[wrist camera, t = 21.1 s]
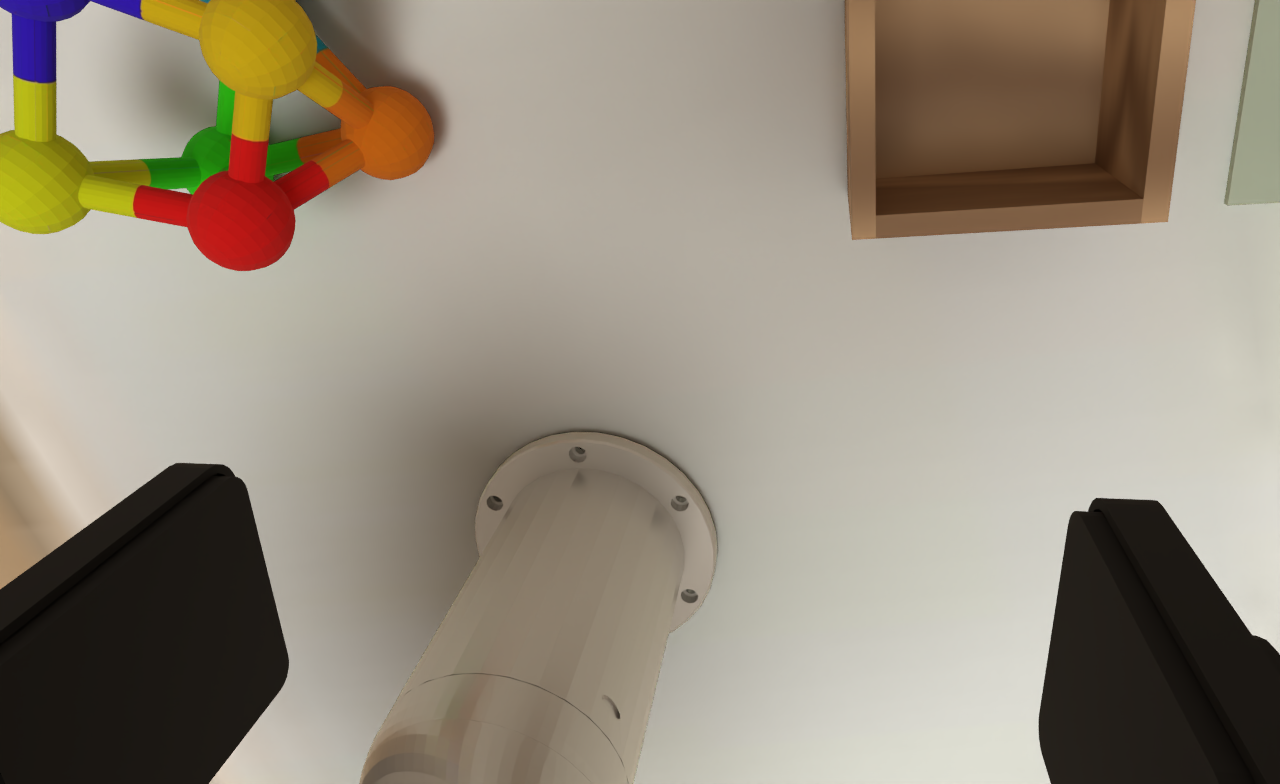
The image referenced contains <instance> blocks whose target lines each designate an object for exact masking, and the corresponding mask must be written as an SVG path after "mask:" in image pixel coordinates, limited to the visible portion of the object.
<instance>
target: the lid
mask: <svg viewBox="0 0 1280 784" xmlns="http://www.w3.org/2000/svg"><path fill="white" fill-rule="evenodd" d="M1279 202H1280V0H1255V4H1254V11H1253V17H1252V24H1251V30H1250V37H1249V43H1248V50H1247V57H1246V63H1245V70H1244V76H1243V83H1242V89H1241V96H1240V103H1239V109H1238V116H1237V122H1236V129H1235V135H1234V142H1233V149H1232V155H1231V162H1230V168H1229V175H1228V181H1227V188H1226V194H1225V201H1224V204H1226V205H1228V206H1229V205H1246V204H1263V203H1279Z"/></svg>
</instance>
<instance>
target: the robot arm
mask: <svg viewBox="0 0 1280 784" xmlns="http://www.w3.org/2000/svg"><path fill="white" fill-rule="evenodd" d="M578 447H581V448H582V449H584V450H581V449H579V448H578ZM679 496H683V497H684V498H682V497H679ZM475 539H476V543H477V548H478V553H479V557H480V558H479V560H478V562H477V563H476V565H475V567H474V568H473V570H472V572H471V573H470V575H469V577H468V579H467V580H466V582H465V584H464V585H463V587H462V589H461V591H460V592H459V594H458V596H457V597H456V599H455V601H454V603H453V604H452V606H451V608H450V609H449V611H448V613H447V615H446V616H445V618H444V620H443V621H442V623H441V625H440V626H439V628H438V630H437V632H436V633H435V635H434V637H433V638H432V640H431V642H430V644H429V645H428V647H427V649H426V650H425V652H424V654H423V656H422V657H421V659H420V661H419V662H418V664H417V666H416V667H415V669H414V671H413V673H412V674H411V676H410V678H409V679H408V681H407V683H406V685H405V686H404V688H403V690H402V691H401V693H400V695H399V697H398V698H397V700H396V702H395V704H394V706H393V707H392V709H391V711H390V712H389V714H388V716H387V718H386V719H385V721H384V723H383V725H382V726H381V728H380V730H379V732H378V733H377V735H376V737H375V739H374V741H373V743H372V745H371V747H370V750H369V752H368V755H367V758H366V761H365V764H364V767H363V770H362V774H361V778H360V783H359V784H633V783H634V779H635V775H636V771H637V766H638V762H639V758H640V754H641V749H642V745H643V741H644V736H645V732H646V728H647V724H648V719H649V715H650V711H651V707H652V702H653V698H654V694H655V690H656V685H657V681H658V677H659V673H660V668H661V664H662V660H663V655H664V651H665V647H666V643H667V638H668V634H669V633H671V632H673V631H674V630H676V629H677V628H678V627H680V626H681V625H682V624H684V623H685V622H686V621H688V620H689V619H690V618H691V617H692V615H693V614H694V613H695V612H696V611H697V610H698V609H699V607H700V606H701V605H702V603H703V601H704V599H705V597H706V596H707V594H708V592H709V590H710V587H711V584H712V580H713V576H714V572H715V567H716V559H717V539H716V530H715V527H714V524H713V521H712V518H711V514H710V511H709V509H708V508H707V506H706V504H705V502H704V500H703V498H702V497H701V495H700V493H699V491H698V490H697V489H696V488H695V487H694V485H693V484H692V483H691V482H690V481H689V479H688V478H687V477H686V476H685V475H684V474H683V473H682V472H681V471H680V470H679V469H678V468H676V467H675V466H674V465H673V464H672V463H670V462H669V461H668V460H667V459H666V458H664V457H662V456H661V455H659V454H657V453H655V452H654V451H652V450H650V449H649V448H647V447H645V446H643V445H640V444H638V443H635V442H633V441H630V440H627V439H625V438H622V437H618V436H613V435H608V434H603V433H598V432H569V433H563V434H556V435H551V436H548V437H545V438H542V439H539V440H537V441H534V442H531V443H529V444H528V445H526V446H524V447H523V448H521V449H519V450H518V451H516V452H514V453H513V454H512V455H511V456H510V457H509V458H508V459H507V460H506V461H505V462H504V463H503V464H502V465H500V466H499V468H498V469H497V471H496V472H495V474H494V475H493V476H492V478H491V479H490V481H489V482H488V484H487V486H486V487H485V489H484V491H483V493H482V495H481V497H480V500H479V504H478V509H477V513H476V517H475ZM288 668H289V659H288V653H287V649H286V645H285V641H284V637H283V633H282V629H281V625H280V620H279V616H278V612H277V608H276V604H275V600H274V596H273V592H272V588H271V584H270V580H269V576H268V572H267V568H266V564H265V560H264V556H263V551H262V547H261V543H260V539H259V535H258V531H257V527H256V523H255V519H254V515H253V511H252V507H251V503H250V499H249V495H248V491H247V488H246V485H245V483H244V482H243V481H242V480H241V479H240V478H238V477H235V475H234V473H233V472H232V471H231V470H230V468H228V467H227V466H225V465H220V464H194V463H176V464H174V465H172V466H169V467H168V468H167V469H165V470H164V471H162V472H161V473H160V474H158V475H157V476H156V477H154V478H153V479H151V480H150V481H149V482H147V483H146V484H145V485H143V486H142V487H140V488H139V489H138V490H136V491H135V492H134V493H132V494H131V495H129V496H128V497H127V498H125V499H124V500H123V501H121V502H120V503H118V504H117V505H116V506H114V507H113V508H112V509H110V510H109V511H108V512H106V513H105V514H103V515H102V516H101V517H99V518H98V519H97V520H95V521H94V522H92V523H91V524H90V525H88V526H87V527H86V528H84V529H83V530H81V531H80V532H79V533H77V534H76V535H75V536H73V537H72V538H70V539H69V540H68V541H66V542H65V543H64V544H62V545H61V546H59V547H58V548H57V549H55V550H54V551H53V552H51V553H50V554H48V555H47V556H46V557H44V558H43V559H42V560H40V561H39V562H37V563H36V564H35V565H33V566H32V567H31V568H29V569H28V570H26V571H25V572H24V573H22V574H21V575H20V576H18V577H17V578H16V579H14V580H13V581H11V582H10V583H9V584H7V585H6V586H5V587H3V588H2V589H0V784H209V782H210V781H211V780H212V778H213V777H214V776H215V775H216V773H217V772H218V771H219V769H220V768H221V767H222V765H223V764H224V763H225V762H226V760H227V759H228V758H229V756H230V755H231V754H232V752H233V751H234V750H235V749H236V747H237V746H238V745H239V743H240V742H241V741H242V739H243V738H244V737H245V736H246V734H247V733H248V732H249V730H250V729H251V728H252V726H253V725H254V724H255V722H256V721H257V720H258V719H259V717H260V716H261V715H262V713H263V712H264V711H265V709H266V708H267V707H268V706H269V704H270V703H271V702H272V700H273V699H274V698H275V696H276V695H277V694H278V693H279V691H280V690H281V688H282V687H283V685H284V683H285V680H286V678H287V673H288ZM1039 740H1040V747H1041V752H1042V756H1043V759H1044V762H1045V765H1046V769H1047V772H1048V775H1049V778H1050V782H1051V784H1280V655H1279V653H1278V652H1277V651H1276V650H1275V648H1274V647H1273V646H1272V645H1271V644H1270V643H1269V642H1268V641H1267V640H1265V639H1263V638H1260V637H1258V636H1253V635H1252V634H1251V633H1250V632H1249V630H1248V629H1247V627H1246V626H1245V624H1244V623H1243V621H1242V620H1241V619H1240V617H1239V616H1238V614H1237V613H1236V611H1235V610H1234V608H1233V607H1232V606H1231V604H1230V603H1229V601H1228V600H1227V598H1226V597H1225V595H1224V594H1223V593H1222V591H1221V590H1220V588H1219V587H1218V585H1217V584H1216V582H1215V581H1214V580H1213V578H1212V577H1211V575H1210V574H1209V572H1208V571H1207V569H1206V568H1205V567H1204V565H1203V564H1202V562H1201V561H1200V559H1199V558H1198V556H1197V555H1196V554H1195V552H1194V551H1193V549H1192V548H1191V546H1190V545H1189V543H1188V542H1187V541H1186V539H1185V538H1184V536H1183V535H1182V533H1181V532H1180V531H1179V529H1178V528H1177V526H1176V525H1175V523H1174V522H1173V520H1172V519H1171V518H1170V516H1169V515H1168V513H1167V512H1166V510H1165V509H1164V507H1163V506H1162V505H1161V504H1160V503H1159V502H1158V501H1154V500H1133V499H1107V498H1096V499H1094V500H1093V501H1092V503H1091V505H1090V507H1089V510H1088V512H1082V511H1074V512H1073V513H1072V515H1071V517H1070V519H1069V524H1068V530H1067V536H1066V543H1065V549H1064V556H1063V562H1062V569H1061V575H1060V582H1059V588H1058V595H1057V602H1056V608H1055V615H1054V621H1053V628H1052V634H1051V641H1050V647H1049V654H1048V661H1047V667H1046V674H1045V680H1044V687H1043V693H1042V700H1041V706H1040V713H1039Z"/></svg>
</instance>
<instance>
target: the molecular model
mask: <svg viewBox="0 0 1280 784" xmlns="http://www.w3.org/2000/svg"><path fill="white" fill-rule="evenodd" d="M90 1H92V2H95V3H98V4H100V5H103V6H106V7H109V8H112V9H114V10H117V11H120V12H123V13H125V14H128V15H131V16H134V17H137V18H139V19H142V20H145V21H148V22H150V23H153V24H156V25H159V26H162V27H164V28H167V29H170V30H173V31H176V32H178V33H181V34H184V35H187V36H189V37H192V38H195V39H198V40H199V41H200V46H201V50H202V54H203V56H204V58H205V61H206V63H207V64H208V66H209V68H210V69H211V71H212V72H213V73H214V75H215V76H216V77H217V78H218V79H219V80H220V81H219V94H218V107H217V119H216V126H214V127H209V128H206V129H203V130H201V131H199V132H198V133H197V134H195V135H194V136H193V137H192V138H191V139H190V141H189V142H188V143H187V145H186V147H185V149H184V152H183V154H182V157H180V158H159V159H138V160H116V161H95V162H89V161H88V160H87V159H86V157H85V156H84V155H83V154H82V152H81V151H80V150H79V149H78V148H77V147H76V146H75V145H73V144H72V143H70V142H69V141H67V140H66V139H64V138H63V137H61V136H59V135H56V21H61V20H65V19H68V18H71V17H72V16H74V15H76V14H77V13H79V12H81V10H82V9H83V8H84V7H85V6H86V5H87V4H88V3H89V2H90ZM0 7H1V8H3V9H4V10H6V11H8V12H10V13H12V42H13V84H14V126H15V130H11V131H8V132H5V133H2V134H0V222H2V223H4V224H5V225H7V226H10V227H12V228H14V229H17V230H19V231H23V232H28V233H32V234H49V233H54V232H59V231H61V230H63V229H66V228H68V227H70V226H73V225H75V224H76V223H77V222H79V221H80V220H81V219H83V218H84V217H85V216H86V214H87V213H88V212H89V211H90V209H92V210H98V211H103V212H108V213H114V214H119V215H125V216H130V217H135V218H141V219H146V220H151V221H157V222H162V223H167V224H173V225H178V226H183V227H188V230H189V233H190V235H191V237H192V240H193V242H194V244H195V245H196V246H197V248H198V249H199V250H200V251H201V252H202V254H203V255H205V256H206V257H207V258H208V259H209V260H211V261H213V262H214V263H216V264H218V265H220V266H222V267H225V268H228V269H232V270H236V271H251V270H256V269H260V268H264V267H267V266H269V265H271V264H273V263H275V262H276V261H277V260H279V259H280V258H281V257H282V256H283V255H284V254H285V252H286V251H287V250H288V248H289V247H290V244H291V241H292V239H293V235H294V230H295V215H294V209H296V208H297V207H299V206H301V205H302V204H304V203H306V202H307V201H309V200H310V199H312V198H314V197H315V196H317V195H319V194H320V193H322V192H324V191H325V190H327V189H328V188H330V187H332V186H333V185H335V184H337V183H338V182H340V181H341V180H343V179H345V178H346V177H348V176H350V175H351V174H353V173H355V172H356V171H358V170H359V169H361V170H362V171H363V172H365V173H367V174H369V175H371V176H373V177H376V178H380V179H386V180H394V179H399V178H403V177H406V176H409V175H411V174H413V173H415V172H417V171H418V170H419V169H420V168H421V167H422V166H423V165H424V163H425V162H426V160H427V159H428V157H429V154H430V152H431V150H432V147H433V144H434V131H433V126H432V121H431V118H430V116H429V114H428V112H427V110H426V109H425V107H424V106H423V105H422V104H421V103H420V102H419V100H418V99H417V98H415V97H414V96H412V95H411V94H409V93H408V92H407V91H404V90H402V89H399V88H396V87H391V86H382V87H372V88H369V89H366V88H365V87H364V86H363V85H362V84H361V83H360V81H359V80H358V79H357V78H356V77H355V76H354V75H353V74H352V73H351V72H350V71H349V70H348V69H347V68H346V67H345V65H344V64H343V63H342V62H341V61H340V60H339V59H338V58H337V57H336V56H335V55H334V54H333V53H332V52H331V51H330V49H329V48H328V47H327V46H326V45H325V44H324V43H323V42H322V41H321V40H320V39H319V38H318V37H317V36H316V35H315V32H314V29H313V26H312V23H311V21H310V20H309V18H308V16H307V15H306V13H305V12H304V10H303V9H302V7H301V6H300V5H299V4H298V3H297V2H296V1H295V0H0ZM295 90H298V91H300V92H301V93H303V94H304V95H306V96H307V97H309V98H310V99H312V100H313V101H315V102H316V103H317V104H319V105H320V106H322V107H323V108H325V109H326V110H328V111H329V112H331V113H332V114H334V115H335V116H337V117H338V118H339V119H341V128H340V129H335V130H331V131H327V132H323V133H318V134H314V135H310V136H305V137H301V138H297V139H293V140H288V141H284V142H280V143H276V144H271V145H268V141H269V132H270V122H271V113H272V104H273V99H277V98H280V97H282V96H285V95H287V94H289V93H291V92H293V91H295ZM290 171H291V172H290ZM285 172H290V173H288V174H286V175H285V176H283V177H281V178H279V179H278V180H276V181H274V182H273V179H274V175H276V174H281V173H285ZM179 188H187V190H188V191H189V192H190V194H187V193H182V192H177V191H171V190H166V189H179Z"/></svg>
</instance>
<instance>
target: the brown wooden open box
mask: <svg viewBox="0 0 1280 784" xmlns="http://www.w3.org/2000/svg"><path fill="white" fill-rule="evenodd" d="M1195 3H1196V0H845V58H846V118H847V178H848V202H849V212H850V223H851V233H852V240H857V239H874V238H892V237H909V236H927V235H944V234H962V233H979V232H997V231H1014V230H1032V229H1049V228H1067V227H1084V226H1102V225H1120V224H1137V223H1155V222H1168V216H1169V208H1170V200H1171V192H1172V185H1173V177H1174V169H1175V161H1176V153H1177V145H1178V137H1179V129H1180V121H1181V114H1182V106H1183V98H1184V90H1185V82H1186V74H1187V66H1188V58H1189V50H1190V42H1191V35H1192V27H1193V19H1194V11H1195Z"/></svg>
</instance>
